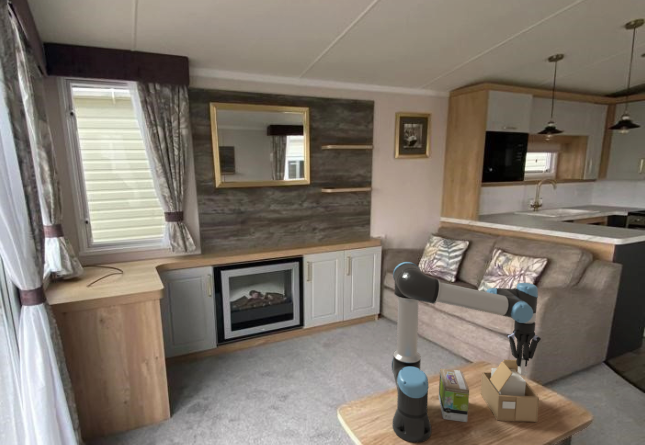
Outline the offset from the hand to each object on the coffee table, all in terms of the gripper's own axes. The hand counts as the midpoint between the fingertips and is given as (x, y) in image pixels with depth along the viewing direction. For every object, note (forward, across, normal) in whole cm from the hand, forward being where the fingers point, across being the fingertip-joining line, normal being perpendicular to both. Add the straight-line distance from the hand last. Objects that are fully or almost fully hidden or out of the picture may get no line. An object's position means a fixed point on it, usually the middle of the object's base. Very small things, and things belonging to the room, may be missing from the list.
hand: (521, 373), depth 146 cm
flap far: (+2, -1, +8) cm, 8 cm away
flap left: (+2, -8, 0) cm, 8 cm away
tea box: (+18, -28, 0) cm, 33 cm away
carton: (+18, -4, +2) cm, 18 cm away
